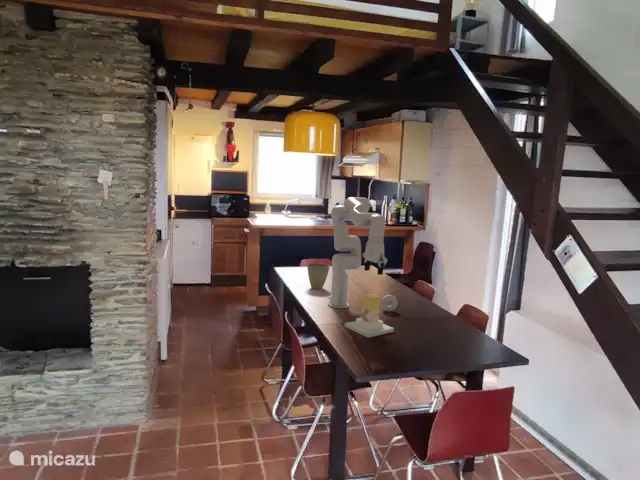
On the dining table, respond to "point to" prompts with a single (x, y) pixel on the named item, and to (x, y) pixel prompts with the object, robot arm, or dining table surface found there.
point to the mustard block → (371, 301)
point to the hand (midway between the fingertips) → (373, 272)
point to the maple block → (370, 315)
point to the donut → (384, 301)
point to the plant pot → (317, 274)
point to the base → (369, 332)
